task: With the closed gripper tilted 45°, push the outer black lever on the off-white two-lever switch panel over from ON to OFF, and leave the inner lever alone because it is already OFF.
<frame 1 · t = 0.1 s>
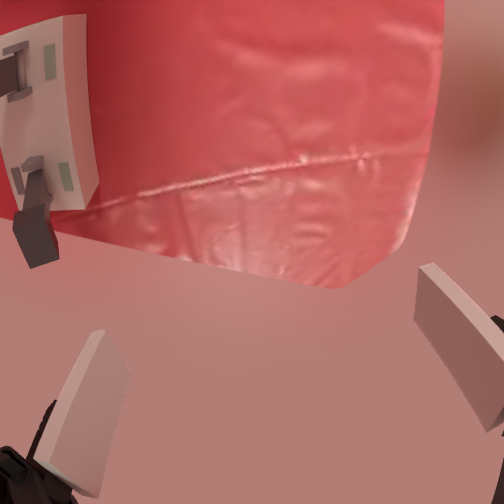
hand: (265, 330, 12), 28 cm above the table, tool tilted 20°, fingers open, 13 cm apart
outer lever: (37, 210, 24), point 12 cm above the table, hinge at -25.0°
switch panel: (53, 107, 28), on the table
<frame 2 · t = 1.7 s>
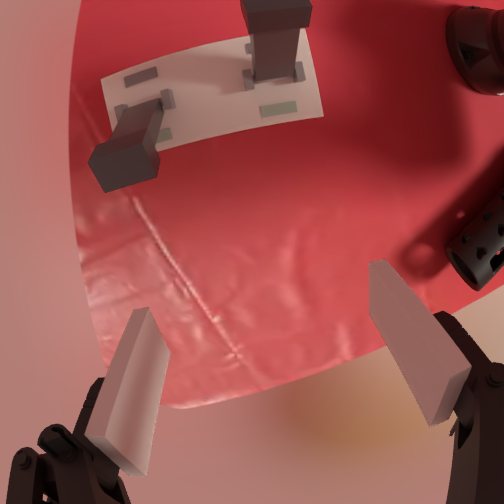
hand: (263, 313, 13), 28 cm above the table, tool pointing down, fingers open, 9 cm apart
outer lever: (134, 134, 23), point 12 cm above the table, hinge at -25.0°
switch panel: (212, 93, 33), on the table
muzzle brake: (493, 201, 41), on the table
inner lever: (273, 38, 21), point 12 cm above the table, hinge at 25.0°
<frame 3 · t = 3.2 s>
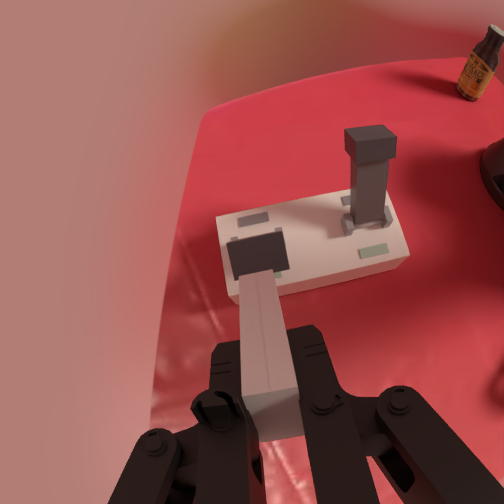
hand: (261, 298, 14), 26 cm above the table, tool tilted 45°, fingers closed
outer lever: (258, 250, 29), point 12 cm above the table, hinge at -25.0°
switch panel: (310, 251, 41), on the table
sauce bottle: (466, 94, 49), on the table
inner lever: (369, 177, 30), point 12 cm above the table, hinge at 25.0°
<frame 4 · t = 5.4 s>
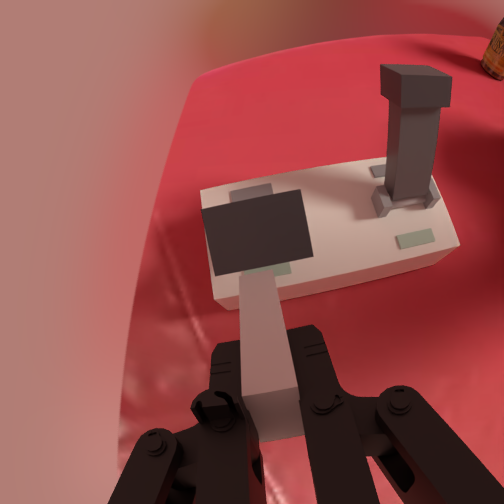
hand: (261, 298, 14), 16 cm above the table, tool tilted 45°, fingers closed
outer lever: (258, 229, 19), point 12 cm above the table, hinge at -24.9°, touching gripper
switch panel: (327, 240, 31), on the table
sauce bottle: (492, 72, 38), on the table
inner lever: (412, 135, 20), point 12 cm above the table, hinge at 25.0°
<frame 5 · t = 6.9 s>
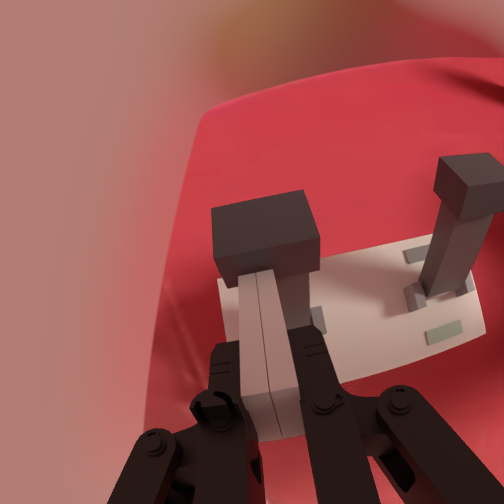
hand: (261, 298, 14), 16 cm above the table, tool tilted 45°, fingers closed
outer lever: (275, 285, 18), point 13 cm above the table, hinge at 18.9°, touching gripper
switch panel: (351, 320, 28), on the table
inner lever: (460, 234, 17), point 12 cm above the table, hinge at 25.0°
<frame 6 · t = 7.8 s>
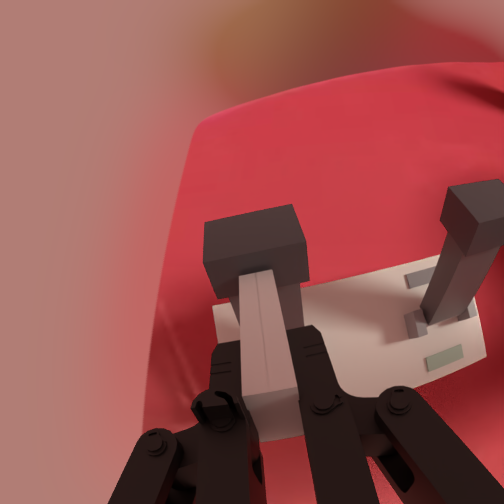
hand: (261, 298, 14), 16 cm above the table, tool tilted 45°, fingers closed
outer lever: (268, 305, 17), point 12 cm above the table, hinge at 30.2°, touching gripper
switch panel: (349, 342, 27), on the table
inner lever: (465, 264, 16), point 12 cm above the table, hinge at 25.0°
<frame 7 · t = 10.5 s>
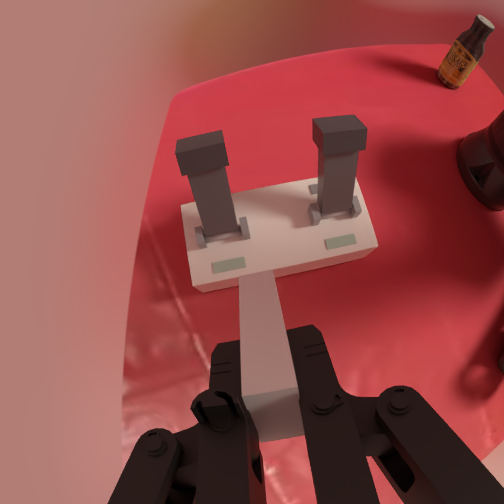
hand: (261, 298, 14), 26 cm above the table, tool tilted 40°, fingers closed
outer lever: (211, 188, 30), point 12 cm above the table, hinge at 30.4°
switch panel: (277, 239, 41), on the table
sauce bottle: (447, 81, 49), on the table
inner lever: (337, 168, 30), point 12 cm above the table, hinge at 25.0°
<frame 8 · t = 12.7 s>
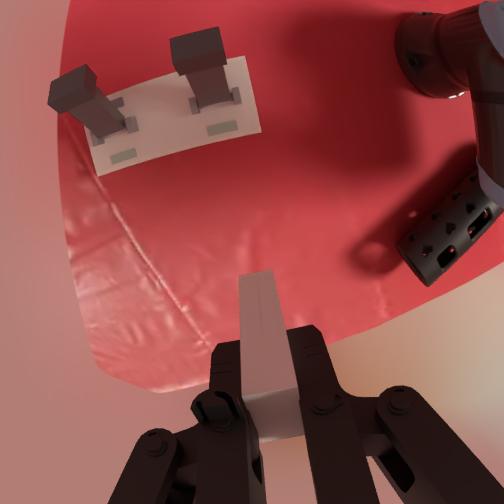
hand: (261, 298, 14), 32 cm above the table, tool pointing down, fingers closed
outer lever: (91, 107, 27), point 12 cm above the table, hinge at 30.4°
switch panel: (173, 114, 39), on the table
muzzle brake: (449, 201, 47), on the table
inner lever: (206, 73, 27), point 12 cm above the table, hinge at 25.0°
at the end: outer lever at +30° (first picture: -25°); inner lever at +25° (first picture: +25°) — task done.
